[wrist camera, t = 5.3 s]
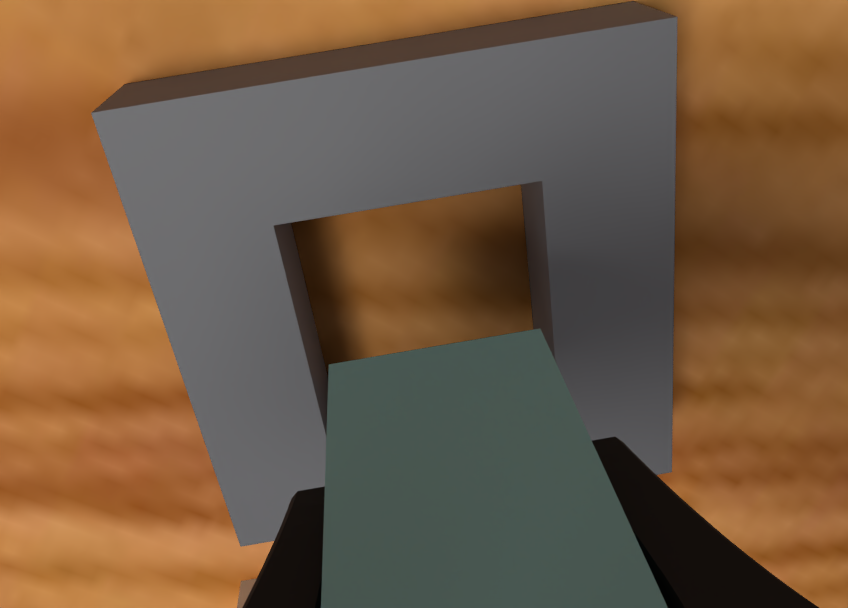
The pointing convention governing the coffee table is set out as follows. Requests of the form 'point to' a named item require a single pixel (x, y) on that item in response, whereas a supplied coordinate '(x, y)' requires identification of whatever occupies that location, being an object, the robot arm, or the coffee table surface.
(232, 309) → the hole board
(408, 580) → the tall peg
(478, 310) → the coffee table surface
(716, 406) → the coffee table surface
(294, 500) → the robot arm
